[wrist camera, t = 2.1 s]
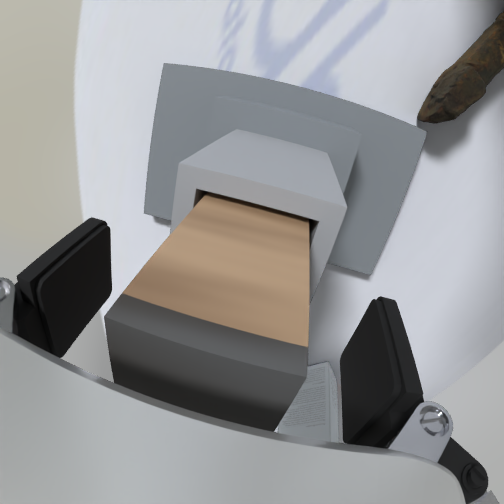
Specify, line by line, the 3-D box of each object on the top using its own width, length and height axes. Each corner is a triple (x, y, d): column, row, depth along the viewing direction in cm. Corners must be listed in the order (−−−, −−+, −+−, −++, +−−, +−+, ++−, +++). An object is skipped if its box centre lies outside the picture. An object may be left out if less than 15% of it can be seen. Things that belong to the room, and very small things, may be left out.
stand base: (170, 64, 23) (36, 56, 9) (421, 129, 23) (538, 184, 9) (150, 207, 30) (47, 304, 16) (368, 266, 29) (401, 404, 16)
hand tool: (508, -5, 13) (532, -13, 9) (531, 28, 14) (558, 25, 10) (394, 93, 22) (412, 93, 18) (424, 129, 23) (445, 137, 19)
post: (247, 148, 20) (102, 314, 6) (307, 164, 20) (309, 376, 5) (235, 204, 22) (120, 414, 8) (291, 219, 22) (258, 457, 7)
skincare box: (294, 389, 40) (286, 467, 29) (283, 370, 38) (272, 452, 28) (338, 380, 38) (339, 460, 27) (330, 359, 36) (330, 445, 26)
